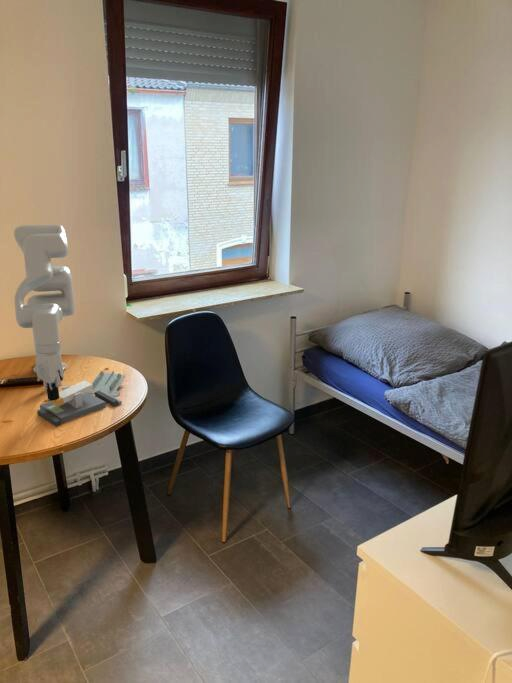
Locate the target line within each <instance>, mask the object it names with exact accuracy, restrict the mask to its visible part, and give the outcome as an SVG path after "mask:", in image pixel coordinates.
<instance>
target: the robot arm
mask: <svg viewBox="0 0 512 683" xmlns="http://www.w3.org/2000/svg"><path fill="white" fill-rule="evenodd" d="M13 235H14V239H15V242H16V243H17V246H18V247H19V248H20V250H21V252H22V253H23V258H24V259H23V260H24V267H25V278H24V279H23V280H22V281H21V283H20V284H18V287H17V289H16V291H15V294H14V312H15V318H16V319H15V320H16V322H17V325H18V326H19V327H21V328H22V329H32V335H33V336H32V337H33V342H34V352H35V366H33V373H35V374H36V377H37V379H38V378H39V379H40V381H42V382H43V381H45V385H46V388H47V393H46V395H47V400H49V402H50V401H53V400H56V399H59V392H60V390H59V388H60V387H62V381H63V380H64V371H65V370H66V369H67V364H66V363H65V362H63V361H62V360H63V359H62V351H61V342H60V341H61V340H60V331H59V324H60V323H61V321H63V318H65V317H70V316H73V315H74V313H75V311H76V304H75V303H76V302H75V294H74V293H75V292H74V283H73V277H72V276H73V275H72V272H71V270H70V268H69V267H68V266H65V265H54V266H53V265H52V259H58V258H60V259H61V258H65V257H67V256H68V253H69V243H68V237H67V234H66V230H65V228H64V227H63V225H61V224H25V225H20V226H17V227H16V228H15V229H14V230H13ZM32 291H33V292H38V293H39V292H42V293H39V294H33V295H31V296H29V298H28V299H27V302H26V305H24V302H25V301H24V300H25V297H26V296H27V295H28V294H29V293H30V292H32ZM58 291H59V292H58ZM43 292H53V293H43Z"/></svg>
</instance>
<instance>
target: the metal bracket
mask: <svg viewBox="0 0 512 683" xmlns="http://www.w3.org/2000/svg"><path fill="white" fill-rule="evenodd" d="M126 376H127V375H125V374H121V373H115V372H114V370H112V371H111V373H110V372H104V371H102V370H101V371H100V372H99V373H98V374H97V376H96V377H95V378H94V379H93V381H92V383H91V384H93V388H94V389H93V390H91V391H89V392H88V393H90V394H92V395H95V392H96V391H104V392H105V393H107V394H109V395H111V396H113V397H115V398H118V397H119V395H120V394H121V391H120V390H118V389H119V387H120V386H121V384H122V382H123V381H124V379H125V378H126Z"/></svg>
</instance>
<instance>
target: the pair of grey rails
mask: <svg viewBox="0 0 512 683" xmlns="http://www.w3.org/2000/svg"><path fill="white" fill-rule="evenodd" d="M94 396H96V397H97V398H99V399H101V400H103V401H105V404H108V405H109V406H112V407H113V408H115V407H117V406H120V405H123V404H122V400H121V399H119V398H118V397H113V396H111V395H109V394H107V393H105V392H104V391H96V392H95V394H94ZM37 415H38V416H39V417H41V419H43V420H44V421H46V422H48V423H49V424H50V425H53V427H55V428H57V427H60V426H62V424H61V420H60V419H58V418H56V417H55V416H53V415H52V414H50V413H49V412H47V411H45V410H44V409H40V408H39V409H38V410H37Z"/></svg>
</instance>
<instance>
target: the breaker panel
mask: <svg viewBox="0 0 512 683" xmlns="http://www.w3.org/2000/svg"><path fill="white" fill-rule="evenodd" d="M69 387H70V385H66V386H63V387H62V386H61V391H63V390H65V389H66V388H69ZM106 404H107V403H106V402H105V401H103V400H101V399H99V398H97V397H96V396H95V394H90V393H88V392H87V393H85V394H83V395H82V394H81V392H79V393H76V394H74V399H72V400H70V401H68V402H66V403H64V404H63V405H61V406H59V407H57V406H56V405H54V404H52V403H51V402H50V401H47V402H44V403H41V404H39V410H40V409H44V410H45V411H47V412H49V413H50V414H52V415H53V416H55V417H56V418H58V419H60V420H61V425H62V424H64V423H66V422H67V423H68V422H70V421H72V420H74V419H75V420H76V419H78V418H80V417H82V416H85V415H87V414H88V415H89V414H91V413H93V412H94V413H95V412H97V411H99V410H102V409H104V408H107V405H106Z"/></svg>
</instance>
